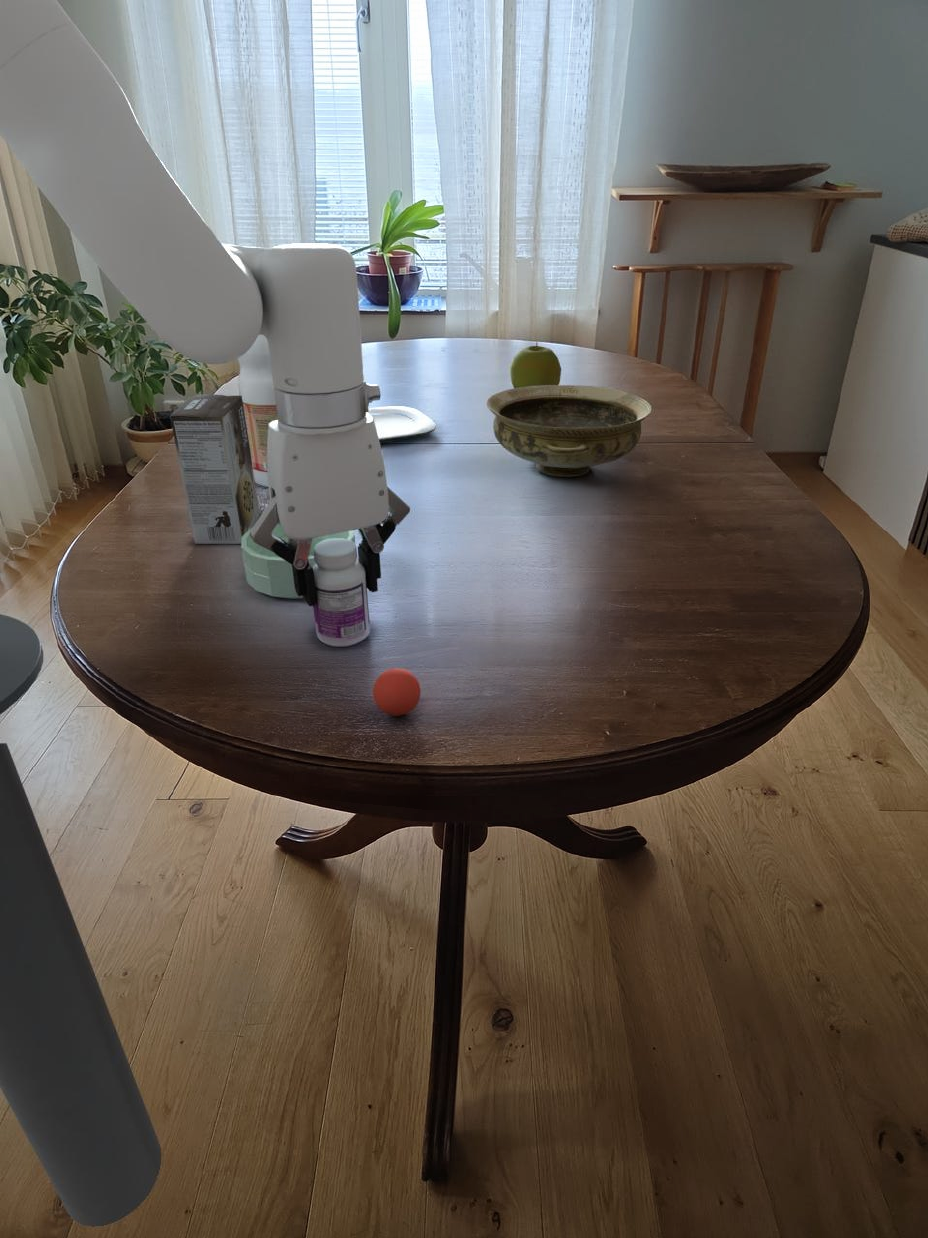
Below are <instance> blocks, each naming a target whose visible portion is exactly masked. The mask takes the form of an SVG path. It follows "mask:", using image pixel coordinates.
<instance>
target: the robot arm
mask: <svg viewBox="0 0 928 1238" xmlns="http://www.w3.org/2000/svg"><path fill="white" fill-rule="evenodd" d="M0 138H1V139H2V140H3V141H4V142H5V144H6V145H7V147H9V148H10V150H11V151H12V152H13V153H14V155H15V156H16V157H17V158H18V160H19V161H20V162H21V164H22V166H23V168H24V169H25V171H26V172H27V174H28V176H29V177H30V179H31V180H32V181H33V183H34V184H35V186H36V187H37V188H38V190H40V192H41V193H42V194H43V195H44V197H45V198H46V199H47V200H48V202H49V203H50V204H51V206H52V207H53V208H54V210H55V211H56V213H57V214H58V215H59V217H60V218H61V219H62V221H63V222H64V224H65V225H66V226H67V227H68V229H69V230H70V232H71V233H72V234H73V235H74V237H75V238H76V240H77V242H79V243H80V245H81V246H82V247H83V249H84V250H85V252H86V253H87V254H88V256H90V258H91V259H92V261H93V262H94V263H95V264H96V265H97V267H98V268H99V269H100V270H101V271H102V273H103V274H104V275H105V276H106V277H107V279H108V280H109V281H110V282H111V283H112V284H113V285H114V287H115V288H116V289H117V290H118V291H119V292H120V293H121V295H122V296H123V297H124V298H125V299H126V300H127V301H128V303H129V304H130V305H131V307H133V309H135V311H136V312H137V313H138V314H139V315H140V316H141V317H142V319H143V320H144V321H145V322H146V324H148V325H149V327H150V328H151V329H152V330H153V331H154V332H155V333H156V334H157V335H158V336H159V338H161V339H162V340H163V341H164V342H165V343H166V344H167V345H168V346H169V347H170V348H172V349H173V350H174V351H176V352H177V353H178V354H180V355H181V356H183V357H185V358H188V359H189V360H191V361H193V362H197V363H201V364H204V365H222V364H227V363H230V362H231V363H232V362H233V361H235V360H237V358H239V357H241V356H242V355H244V354H245V353H246V352H247V351H248V350H249V349H250V348H251V347H252V346H253V344H254V343H255V341H256V339H257V337H258V335H264V336H265V337H266V338H267V341H268V346H269V354H270V362H271V370H272V378H273V386H274V394H275V402H276V410H277V418H278V420H275V421H272V422H270V423H269V426H268V436H267V469H268V487H267V488H268V499H269V501H268V504H267V506H266V507H265V509H264V510H263V511H262V513H260V516H259V518H258V519H257V521H256V523H255V525H254V526H253V528H252V529H251V531H250V536H251V538H252V540H253V541H254V542H255V543H256V544H258V545H260V546H262V547H264V548H266V549H268V550H270V551H272V552H274V553H275V554H276V555H277V556H279V557H281V558H282V559H284V560H285V561H287V562H288V563H290V564H292V570H293V578H294V586H295V590H296V593H297V595H298V596H303V597H304V598H303V599H304V601H305V602H306V603H307V605H308V607H313V606H315V604H317V597H316V588H315V579H314V571H313V568H312V566H311V565H310V564H309V562H308V556H309V552H310V547H311V543H312V539H313V538H316V537H321V536H326V535H332V534H337V533H342V532H347V531H352V530H353V531H357V532H358V533H359V536H360V538H361V541H360V542H359V543H358V546H357V560H358V561H359V562H360V563H361V564H362V565H363V567H364V569H365V572H366V584H367V591H369V592H371V593H375V592H378V590H379V585H378V579H381V578H382V569H381V568H382V567H381V555H380V554H381V553H382V552H383V551H384V549H385V543H386V542H387V541H388V540H389V539H390V538H391V536H392V535H393V534H394V532H395V531H396V528H397V526H398V525H400V524H401V523H402V522H403V520H404V519H405V518H406V517H407V516H408V515H409V514H410V512H411V506H409V505H408V504H407V503H406V502H405V501H404V500H403V499H402V498H401V497H400V496H398V495H397V494H396V493H395V491H393V490H392V489H391V488H390V487H389V486H388V481H387V475H386V467H385V462H384V456H383V451H382V447H381V442H379V437H378V433H377V429H376V426H375V422H374V419H373V417H372V416H371V415H370V414H369V413H368V408H369V406H370V404H371V403H373V402H374V401H380V400H381V396H382V395H381V388H380V386H379V384H370V383H367V382H366V381H365V375H364V360H363V347H362V346H363V344H362V332H361V317H360V316H361V315H360V302H359V301H360V299H359V286H358V273H357V265H356V261H355V258H354V257H353V255H352V254H351V252H350V251H349V250H348V249H347V248H345V247H342V246H341V245H337V244H331V243H289V244H281V245H276V246H273V247H261V246H260V247H259V246H258V247H257V246H246V245H238V244H237V245H236V244H229V243H222V242H221V241H220V239H219V238H218V236H216V234H215V233H214V231H213V230H212V229H211V227H210V226H209V225H208V224H207V222H206V221H205V220H204V218H203V217H202V216H201V214H200V213H199V212H198V210H197V209H196V208H195V207H194V205H193V204H192V202H191V201H190V200H189V198H188V197H187V195H185V193H184V191H183V190H182V189H181V187H180V186H179V185H178V184H177V182H176V181H175V179H174V178H173V176H172V175H171V174H170V172H169V171H168V169H167V168H166V167H165V165H164V163H163V162H162V160H161V158H159V156H158V155H157V153H156V151H155V149H154V148H153V147H152V145H151V142H150V141H149V140H148V138H147V137H146V134H145V133H144V132H143V129H142V127H141V125H140V123H139V121H138V120H137V117H136V115H135V113H134V110H133V109H132V106H131V104H130V101H129V99H128V97H127V95H126V93H125V92H124V90H123V89H122V87H121V85H120V84H119V83H118V81H117V79H116V78H115V76H114V73H112V71H111V69H109V66H108V65H106V63H105V62H104V61H103V59H102V58H101V56H100V55H99V54H98V53H97V52H96V50H95V49H94V48H93V47H92V45H91V44H90V42H89V41H88V39H86V37H85V35H84V34H83V33H82V32H81V30H79V28H78V27H77V25H76V24H75V23H74V22H73V20H72V19H71V17H70V16H69V15H68V13H67V12H66V11H65V10H64V8H63V7H62V5H61V4H60V3H59V1H58V0H0ZM277 524H280V525H282V529H283V533H284V535H285V536H286V537H287V538H289V539H288V543H287V542H286V541H284V540H283V539H281V538H279V537H276V536H274V535H273V534H272V531H273V529H274V528H275V527H276V525H277Z"/></svg>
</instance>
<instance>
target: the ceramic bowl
mask: <svg viewBox="0 0 928 1238" xmlns="http://www.w3.org/2000/svg"><path fill="white" fill-rule="evenodd" d="M486 406H487V408H488V409H489V411H490V412H491V413H492V414H493V415H494V417H493V418H494V419H493V423H492V428H493V429H492V430H493V434H494V437H495V439H496V440H497V442H498V443H499V444H500V445H501V446H502V448H504V449H505V450H506V451H508V452H509V453H511V454H512V455H514V456H515V457H518V458H520V459H522V460H524V461H527V462H530V463H532V464H536V469H537V470H538V471H539V472H541V473H542V474H546V475H548V476H549V475H550V476H553V477H562V478H563V477H564V478H566V477H567V478H568V477H569V478H570V477H579V476H582V475H585V474H588V473H589V472H590V467H594V466H595V467H596V466H599V465H603V464H607V463H611V462H613V461H616V460H619V459H620V458H622V457H624V456H626V455H627V454H629V453H630V452H631V451H632V450H634V448H635V447H636V446H637V444H638V443H639V441H640V439H641V435H642V422H643V421H644V420H645V419H647V418H648V417H649V416H650V414H651V413H652V411H653V410H652V409H653V408H652V406H651V404H650V403H649V402H648V401H647V400H645V399H643V398H641V397H640V396H636V395H635V394H631V393H628V392H626V391H623V390H619V389H615V388H611V387H605V386H595V385H575V384H574V385H573V384H571V385H570V384H559V385H540V386H527V387H520V388H514V387H513V388H509V389H506V390H502V391H500V392H497V393H495V394H492V395H491V396H490V397H489V398H487V400H486Z"/></svg>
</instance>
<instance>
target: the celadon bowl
mask: <svg viewBox="0 0 928 1238" xmlns="http://www.w3.org/2000/svg"><path fill="white" fill-rule="evenodd" d="M252 528H253V527H252ZM252 528H250V529H249V530H248V531H247V532H246V533H245V534H244V535H243V536H242V538H241V544H240V548H241V554H242V559H243V565H244V571H245V578H246V582H247V584H248V585H249V586H250V587H251V588H252V589H253V590H255V591H256V592H259V593H262V594H265V595H268V596H270V597H275V598H281V599H304V597H303V596H298V595H297V593H296V590H295V586H294V578H293V570H292V564H290V563H288V562H287V561H285V560H284V559H282V558H281V557H279V556H277V555H276V554H275V553H274V552H272V551H270V550H268V549H266V548H264V547H262V546H260V545H258V544H256V543H255V542H254V541H253V540H252V538H251V536H250V531H251V529H252ZM354 531H355V530H352V531H347V532H342V533H337V534H332V535H326V536H321V537H316V538H313V539H312V543H311V547H310V552H309V556H308V562H309V564H310V565H311V566H312V567H313V566H314V565H315V564H316V562H315V561H314V546H315V545H316V544H318V543H319V542H321V541H324V540H327V539H333V538H343V539H348V540H351V541H353V542H354V543H355V544H356V535H355V532H354ZM272 534H273V535H274V536H276V537H279V538H281V539H283V540H284V541H286V542H287V543H288V539H289V538H287V537H286V536H285V535H284V533H283V529H282V525H280V524H277V525H276V527H275V528H274V529H273V531H272Z"/></svg>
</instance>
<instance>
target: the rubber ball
mask: <svg viewBox="0 0 928 1238" xmlns="http://www.w3.org/2000/svg"><path fill="white" fill-rule="evenodd" d="M372 696H373V701H374V702H375V705H376V707H378V709H379V710H380V711H382V712H383V713H385V714H387V715H390V716H393V717H401V716H404V715H406V714H409V713H410V712H412V711H413V710H414V709H415V708H416V707H417V705H418V703H419V701H420V699H421V685H420V682H419V680H418V679H417V677H416V675H414V674H413V673H412V672H411V671H409V670H407V669H405V668H400V667H395V668H394V667H393V668H389V669H387V670H385V671H383V672H382V673H381V674H380V675H378V677H377V678H376V680H375V682H374V685H373V689H372Z"/></svg>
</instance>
